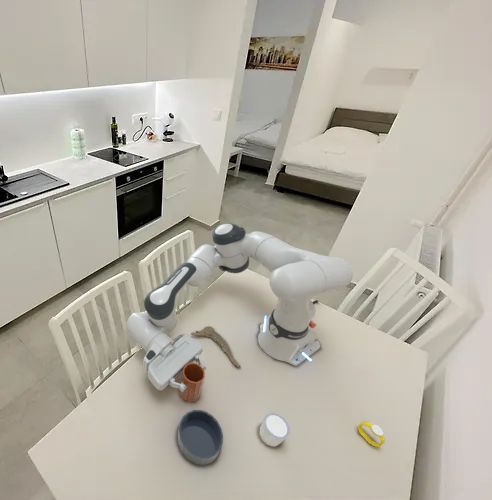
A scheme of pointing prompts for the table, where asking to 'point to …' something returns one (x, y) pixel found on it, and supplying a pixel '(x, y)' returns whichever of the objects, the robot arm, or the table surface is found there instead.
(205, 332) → the jawbone
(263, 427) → the white cylinder
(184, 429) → the wide pot
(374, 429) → the watch
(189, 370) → the orange cup
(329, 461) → the table surface
